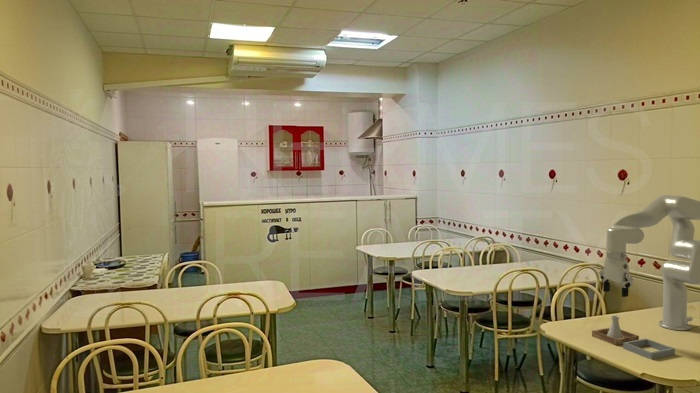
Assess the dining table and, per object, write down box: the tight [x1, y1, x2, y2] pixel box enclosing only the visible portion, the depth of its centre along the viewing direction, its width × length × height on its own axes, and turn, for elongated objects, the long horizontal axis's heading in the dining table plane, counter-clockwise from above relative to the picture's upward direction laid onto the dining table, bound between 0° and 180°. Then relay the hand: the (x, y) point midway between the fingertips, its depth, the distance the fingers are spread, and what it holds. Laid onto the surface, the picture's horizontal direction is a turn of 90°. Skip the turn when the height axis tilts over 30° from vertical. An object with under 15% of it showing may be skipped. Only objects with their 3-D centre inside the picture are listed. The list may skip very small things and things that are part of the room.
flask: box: [607, 315, 624, 339], centre depth 220 cm, size 7×7×10 cm
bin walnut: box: [591, 327, 640, 346], centre depth 220 cm, size 13×13×2 cm
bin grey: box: [622, 338, 676, 360], centre depth 205 cm, size 13×13×2 cm
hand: (615, 293), depth 219 cm, fingers open, 9 cm apart
